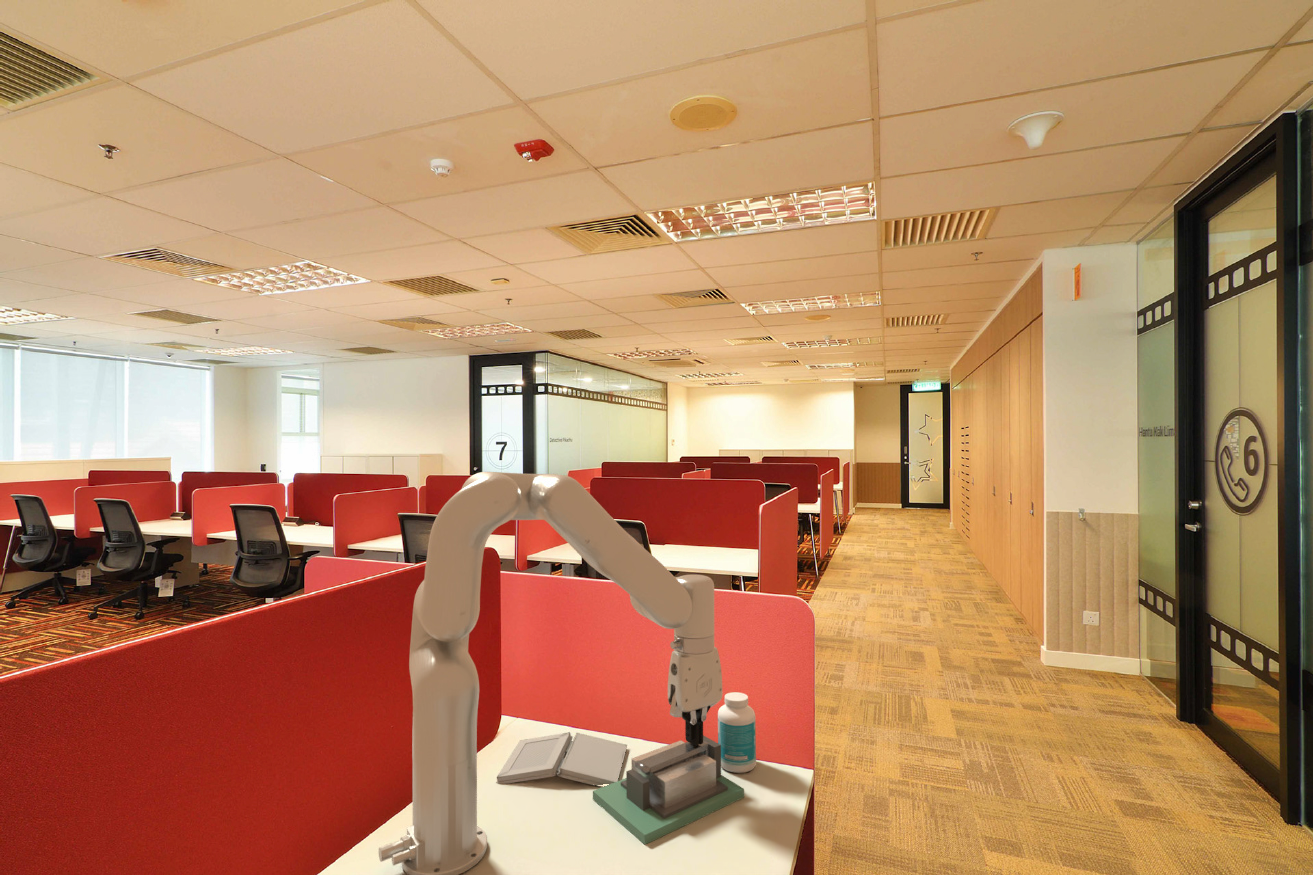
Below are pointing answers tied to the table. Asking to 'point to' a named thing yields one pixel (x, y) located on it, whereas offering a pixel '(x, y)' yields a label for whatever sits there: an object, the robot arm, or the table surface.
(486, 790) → the table surface
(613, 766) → the gadget
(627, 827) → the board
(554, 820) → the table surface
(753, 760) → the pill bottle
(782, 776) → the table surface
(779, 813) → the table surface
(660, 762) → the strap
